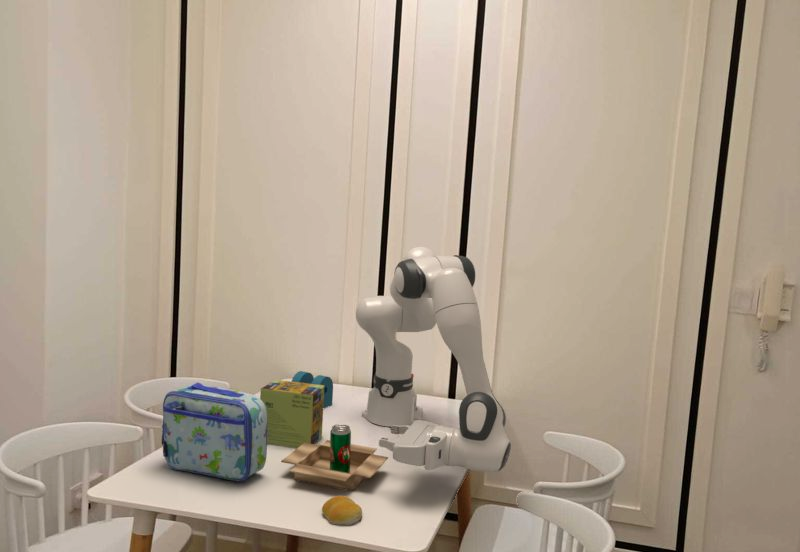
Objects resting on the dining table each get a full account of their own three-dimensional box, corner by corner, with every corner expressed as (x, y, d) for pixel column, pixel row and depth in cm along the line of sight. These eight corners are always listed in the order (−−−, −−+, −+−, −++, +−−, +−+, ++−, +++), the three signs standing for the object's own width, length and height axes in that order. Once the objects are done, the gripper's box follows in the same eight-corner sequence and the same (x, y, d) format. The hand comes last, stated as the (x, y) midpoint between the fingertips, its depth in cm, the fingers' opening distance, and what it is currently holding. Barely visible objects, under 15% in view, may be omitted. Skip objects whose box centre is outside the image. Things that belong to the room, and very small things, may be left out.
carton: (310, 451, 194) (311, 437, 193) (392, 465, 188) (393, 451, 187) (272, 483, 172) (272, 467, 171) (362, 500, 166) (363, 484, 165)
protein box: (310, 450, 195) (313, 394, 193) (257, 443, 198) (259, 388, 196) (322, 438, 205) (325, 385, 203) (271, 431, 208) (273, 378, 206)
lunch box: (154, 467, 177) (156, 384, 174) (183, 454, 187) (185, 375, 184) (244, 490, 167) (247, 402, 165) (269, 474, 177) (273, 391, 175)
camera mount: (305, 399, 241) (307, 368, 240) (332, 405, 236) (333, 374, 235) (272, 412, 225) (273, 379, 224) (299, 419, 220) (301, 385, 219)
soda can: (330, 468, 182) (331, 423, 180) (350, 469, 182) (351, 423, 180) (328, 477, 177) (329, 430, 175) (349, 477, 177) (350, 431, 175)
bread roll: (335, 530, 151) (336, 511, 151) (317, 512, 159) (317, 495, 158) (369, 522, 156) (370, 504, 155) (350, 505, 163) (351, 488, 163)
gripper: (451, 419, 181) (399, 410, 185) (431, 446, 162) (373, 436, 166) (449, 443, 182) (397, 433, 186) (429, 473, 163) (371, 462, 167)
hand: (385, 435), depth 176 cm, fingers open, 8 cm apart
